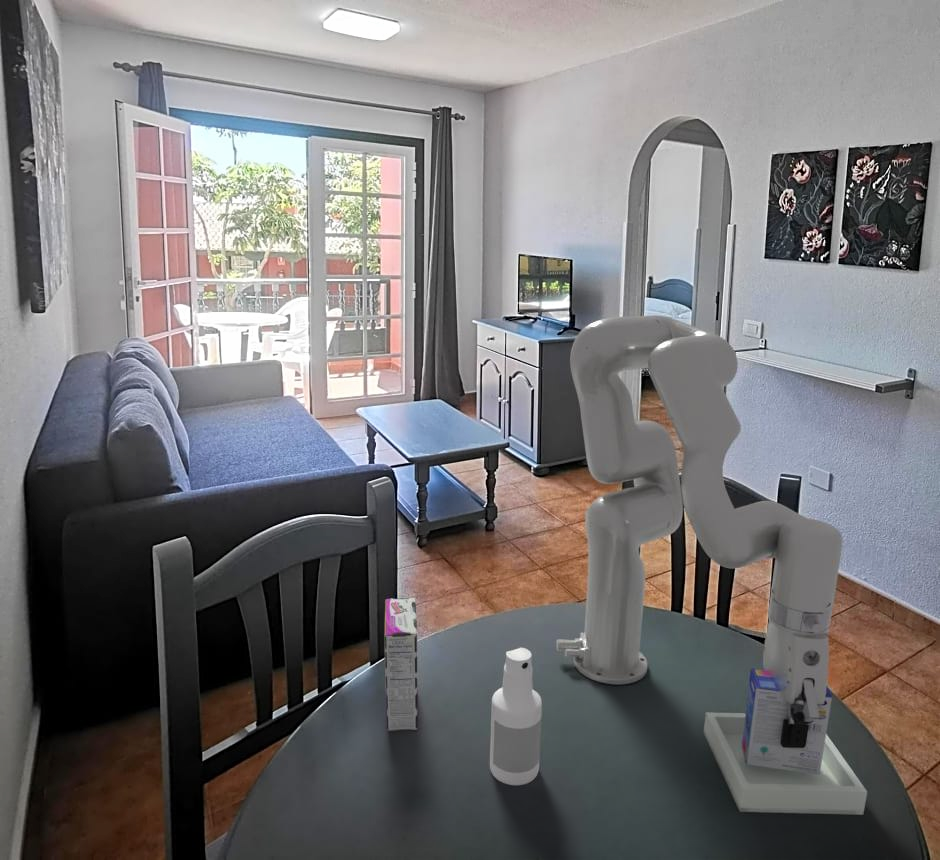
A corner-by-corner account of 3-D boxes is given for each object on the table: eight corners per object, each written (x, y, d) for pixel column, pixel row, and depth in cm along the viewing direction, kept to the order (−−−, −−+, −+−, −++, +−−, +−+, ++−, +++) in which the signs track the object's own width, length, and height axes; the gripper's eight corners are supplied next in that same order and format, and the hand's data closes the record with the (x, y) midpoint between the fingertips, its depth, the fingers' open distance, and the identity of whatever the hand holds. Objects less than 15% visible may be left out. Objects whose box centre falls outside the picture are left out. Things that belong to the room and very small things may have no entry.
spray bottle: (505, 793, 99) (509, 673, 95) (480, 761, 105) (484, 647, 101) (548, 777, 102) (554, 660, 98) (522, 747, 108) (527, 636, 104)
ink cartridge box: (812, 750, 106) (827, 659, 102) (822, 777, 101) (838, 683, 97) (739, 740, 108) (751, 651, 104) (745, 766, 102) (758, 673, 98)
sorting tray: (739, 811, 97) (742, 788, 96) (703, 732, 112) (705, 712, 111) (863, 814, 97) (867, 791, 96) (809, 735, 112) (813, 714, 111)
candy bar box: (385, 689, 121) (384, 597, 117) (416, 688, 122) (416, 596, 118) (384, 733, 111) (383, 633, 107) (418, 731, 111) (418, 632, 107)
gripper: (860, 647, 90) (839, 774, 95) (800, 583, 107) (784, 694, 111) (798, 645, 90) (779, 773, 95) (748, 582, 107) (734, 693, 111)
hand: (782, 729), depth 103 cm, fingers closed on ink cartridge box, 6 cm apart
